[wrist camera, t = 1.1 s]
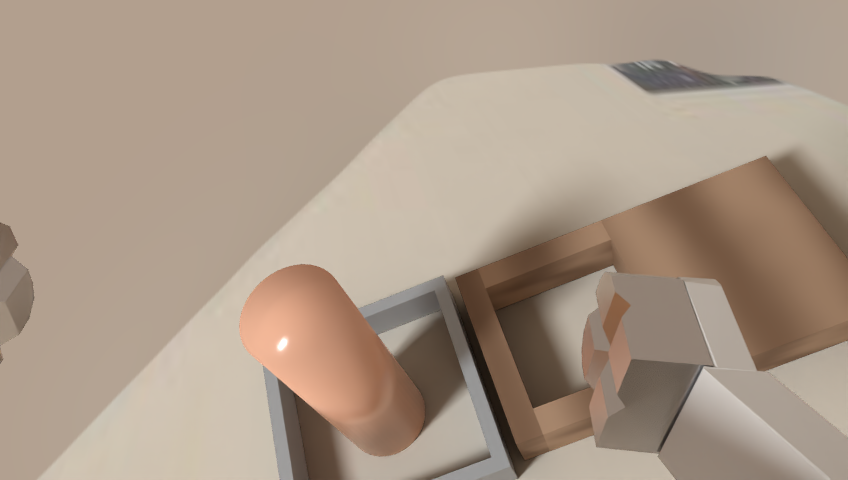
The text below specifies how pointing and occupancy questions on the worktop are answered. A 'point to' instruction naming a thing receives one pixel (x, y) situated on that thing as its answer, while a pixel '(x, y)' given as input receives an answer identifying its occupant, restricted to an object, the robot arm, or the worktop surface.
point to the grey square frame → (486, 476)
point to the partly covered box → (676, 257)
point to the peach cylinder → (332, 358)
